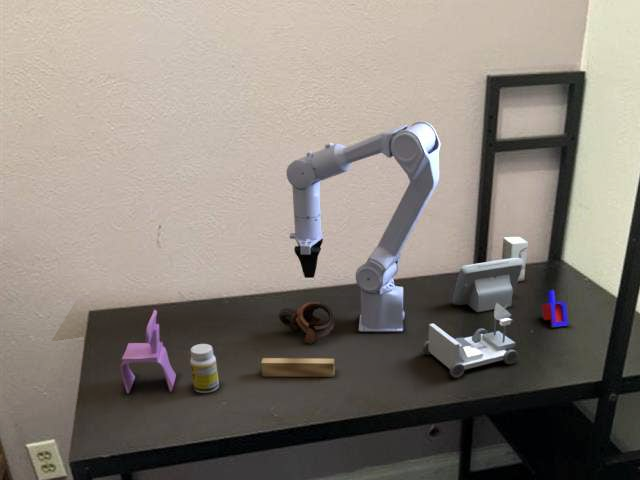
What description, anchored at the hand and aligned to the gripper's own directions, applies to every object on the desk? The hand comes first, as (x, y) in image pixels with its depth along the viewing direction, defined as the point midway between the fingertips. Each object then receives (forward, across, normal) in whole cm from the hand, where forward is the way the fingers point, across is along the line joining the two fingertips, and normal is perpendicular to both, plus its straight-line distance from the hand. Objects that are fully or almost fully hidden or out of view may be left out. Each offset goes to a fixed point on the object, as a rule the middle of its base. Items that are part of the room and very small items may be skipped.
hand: (310, 274), depth 173 cm
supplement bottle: (+10, +34, -17) cm, 39 cm away
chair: (+10, +33, -28) cm, 44 cm away
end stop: (+9, +28, 0) cm, 30 cm away
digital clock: (+10, -6, +40) cm, 42 cm away
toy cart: (+10, +21, +35) cm, 42 cm away
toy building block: (+10, +4, +54) cm, 55 cm away
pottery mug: (+10, +11, 0) cm, 15 cm away
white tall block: (+10, -21, +48) cm, 53 cm away
